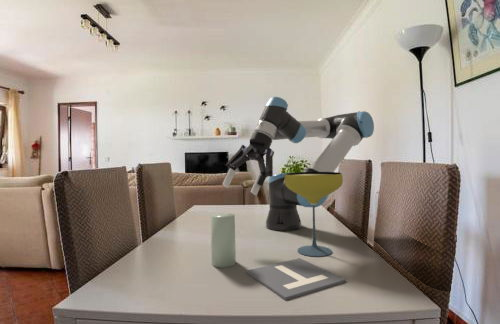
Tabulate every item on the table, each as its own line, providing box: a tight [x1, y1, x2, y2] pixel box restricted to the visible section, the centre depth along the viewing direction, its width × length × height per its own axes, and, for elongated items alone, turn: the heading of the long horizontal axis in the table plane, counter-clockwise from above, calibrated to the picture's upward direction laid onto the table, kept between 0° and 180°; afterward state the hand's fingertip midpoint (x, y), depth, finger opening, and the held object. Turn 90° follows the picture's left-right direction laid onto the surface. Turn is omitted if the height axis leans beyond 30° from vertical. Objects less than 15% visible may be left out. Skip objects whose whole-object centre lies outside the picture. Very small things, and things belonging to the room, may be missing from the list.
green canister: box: [210, 212, 237, 269], centre depth 89 cm, size 7×7×14 cm
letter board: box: [245, 257, 347, 301], centre depth 78 cm, size 18×18×1 cm
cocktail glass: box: [285, 171, 344, 258], centre depth 97 cm, size 18×18×25 cm
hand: (238, 189), depth 103 cm, fingers open, 13 cm apart
